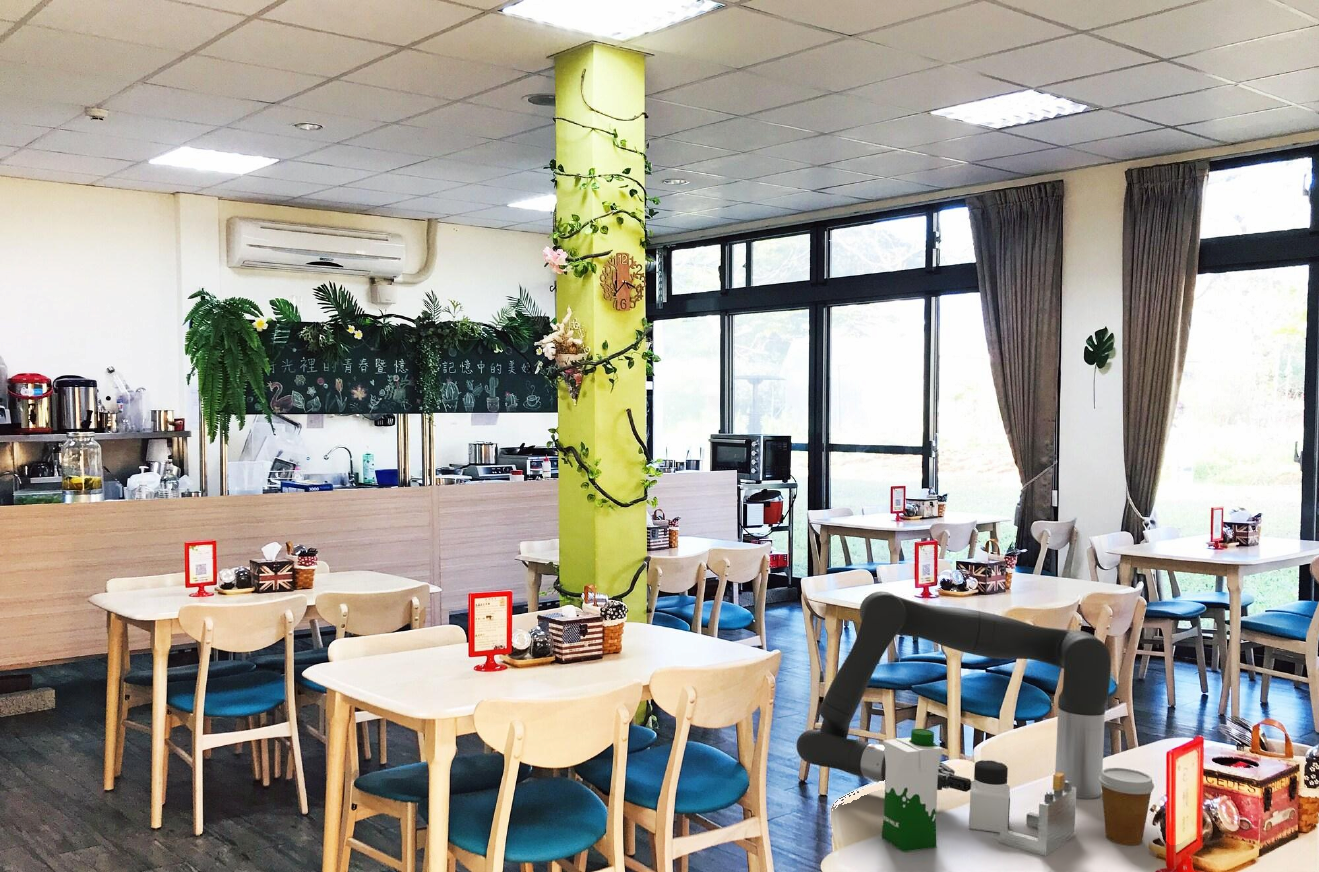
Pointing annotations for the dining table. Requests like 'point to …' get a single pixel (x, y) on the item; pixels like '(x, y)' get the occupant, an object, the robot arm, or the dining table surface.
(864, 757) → the robot arm
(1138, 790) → the disposable coffee cup
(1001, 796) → the medicine bottle
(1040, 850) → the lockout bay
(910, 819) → the milk carton
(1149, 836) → the dining table surface
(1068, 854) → the dining table surface
